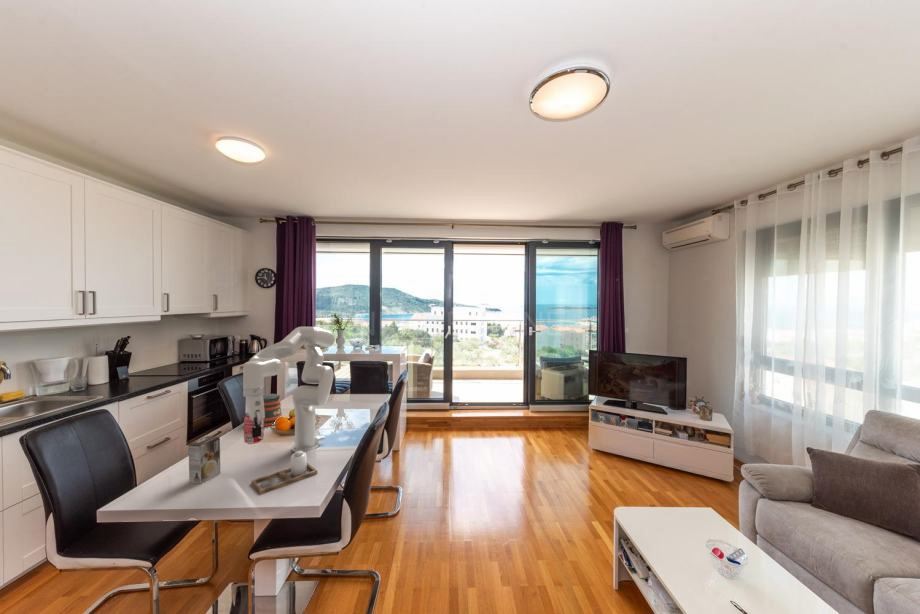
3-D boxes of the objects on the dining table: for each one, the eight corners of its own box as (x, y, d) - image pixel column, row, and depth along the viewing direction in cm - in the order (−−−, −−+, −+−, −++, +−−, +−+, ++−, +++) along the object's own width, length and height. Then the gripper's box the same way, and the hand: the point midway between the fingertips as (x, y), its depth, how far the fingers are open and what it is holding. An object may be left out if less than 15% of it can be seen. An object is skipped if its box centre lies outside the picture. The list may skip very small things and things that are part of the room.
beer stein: (242, 426, 208) (242, 393, 208) (258, 418, 223) (258, 387, 222) (272, 427, 206) (272, 393, 206) (287, 419, 221) (287, 387, 221)
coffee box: (208, 472, 152) (208, 435, 152) (220, 473, 151) (220, 436, 151) (188, 482, 143) (188, 443, 143) (201, 484, 142) (200, 445, 142)
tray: (304, 467, 157) (304, 461, 157) (318, 478, 147) (318, 471, 147) (250, 485, 141) (249, 479, 141) (261, 499, 131) (261, 492, 131)
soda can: (263, 437, 149) (263, 409, 149) (263, 443, 143) (263, 413, 143) (244, 440, 145) (244, 411, 145) (243, 446, 139) (243, 416, 139)
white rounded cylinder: (303, 469, 152) (302, 448, 152) (308, 473, 148) (308, 452, 148) (288, 473, 148) (288, 452, 148) (294, 478, 144) (294, 456, 143)
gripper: (270, 393, 140) (270, 437, 141) (258, 386, 153) (258, 426, 153) (249, 397, 135) (249, 442, 135) (238, 389, 148) (238, 430, 148)
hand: (254, 433), depth 144 cm, fingers closed on soda can, 7 cm apart
